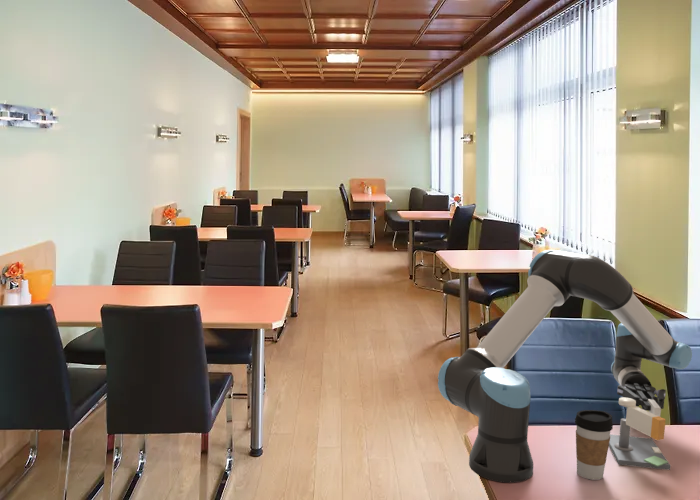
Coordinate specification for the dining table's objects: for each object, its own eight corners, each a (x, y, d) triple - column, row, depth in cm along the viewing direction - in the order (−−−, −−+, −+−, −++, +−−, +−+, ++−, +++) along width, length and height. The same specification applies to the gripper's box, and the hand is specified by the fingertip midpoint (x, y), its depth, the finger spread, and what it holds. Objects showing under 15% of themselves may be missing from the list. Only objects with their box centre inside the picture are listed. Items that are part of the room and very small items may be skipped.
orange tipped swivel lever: (611, 443, 161) (615, 398, 160) (623, 441, 163) (627, 396, 161) (652, 465, 149) (656, 416, 148) (664, 463, 151) (668, 415, 149)
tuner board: (619, 467, 152) (620, 461, 152) (604, 438, 169) (604, 432, 169) (672, 472, 150) (672, 466, 149) (651, 442, 167) (651, 437, 166)
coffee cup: (612, 484, 143) (617, 422, 141) (574, 480, 145) (578, 419, 143) (604, 468, 151) (609, 409, 149) (568, 464, 153) (572, 405, 151)
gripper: (657, 397, 180) (683, 429, 158) (610, 393, 183) (629, 424, 160) (659, 372, 180) (686, 401, 157) (612, 369, 182) (631, 396, 159)
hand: (657, 413), depth 158 cm, fingers closed
